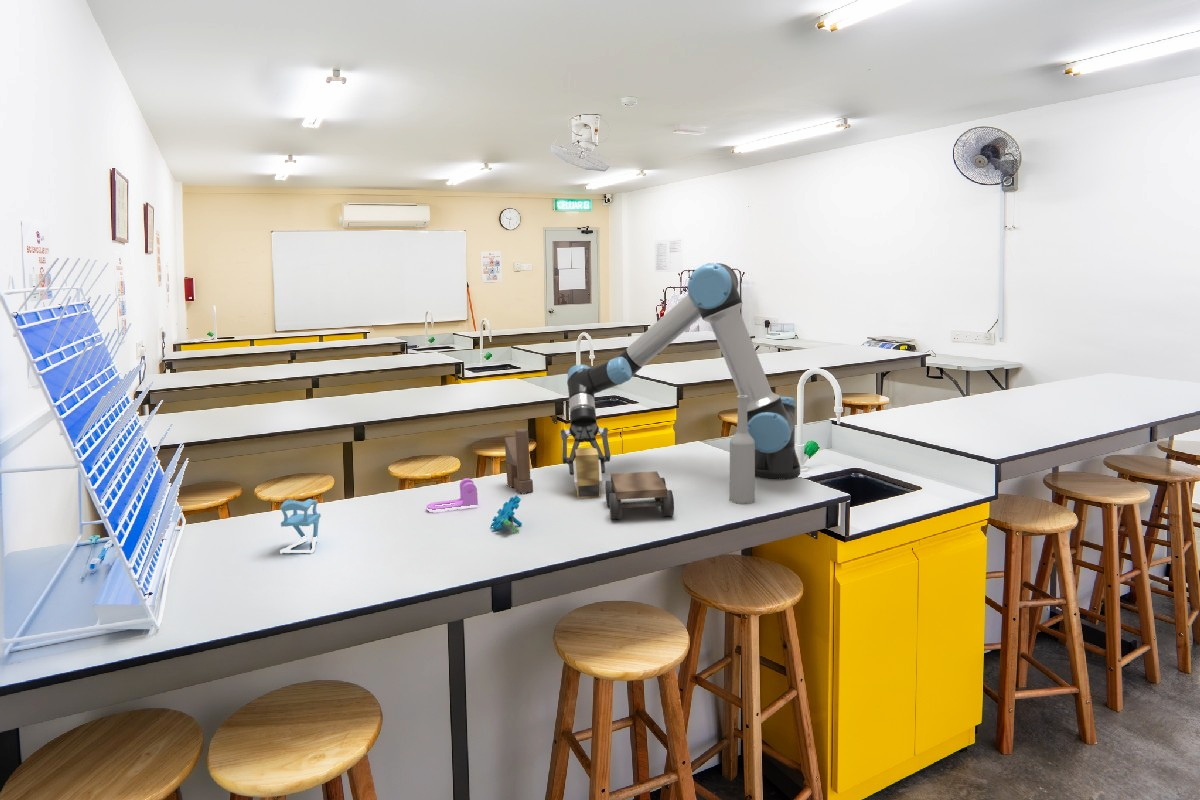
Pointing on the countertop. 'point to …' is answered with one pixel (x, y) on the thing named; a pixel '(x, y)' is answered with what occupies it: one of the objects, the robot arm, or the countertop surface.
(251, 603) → the countertop surface
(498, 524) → the gear
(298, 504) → the chair
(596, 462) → the block
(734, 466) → the bottle
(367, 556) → the countertop surface
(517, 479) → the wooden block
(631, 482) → the trolley
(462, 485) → the bracket
